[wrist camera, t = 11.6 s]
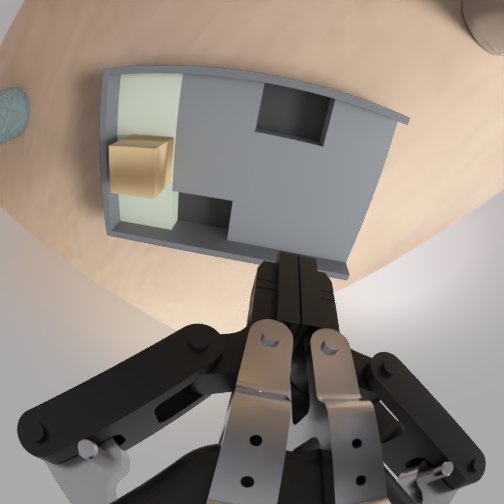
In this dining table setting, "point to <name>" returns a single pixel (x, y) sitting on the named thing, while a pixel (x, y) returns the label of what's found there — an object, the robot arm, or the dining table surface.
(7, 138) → the teal tumbler
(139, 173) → the oak block
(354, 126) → the box
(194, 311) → the dining table surface
